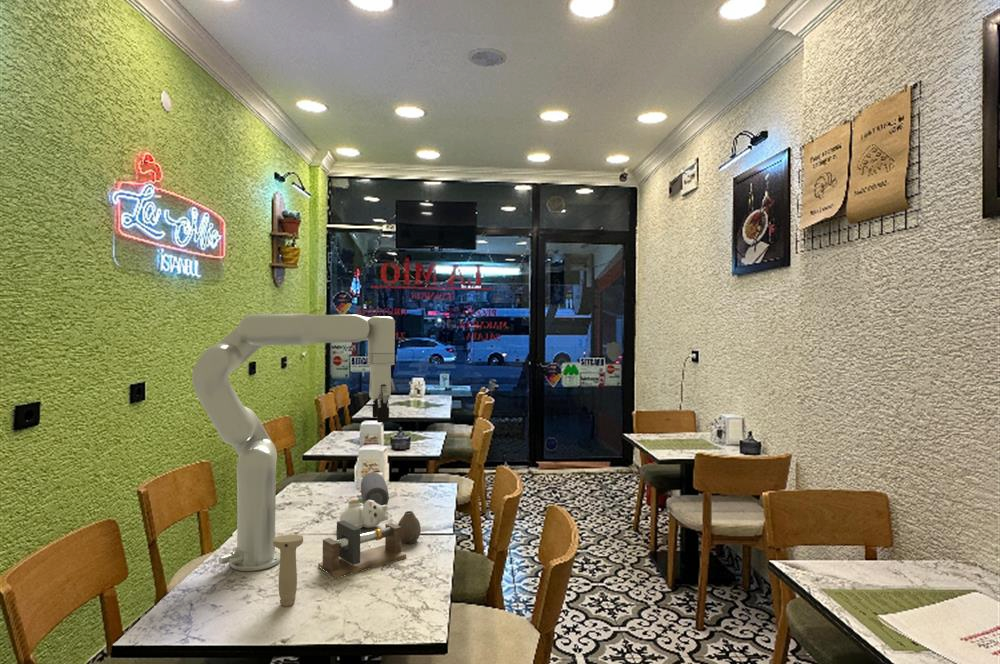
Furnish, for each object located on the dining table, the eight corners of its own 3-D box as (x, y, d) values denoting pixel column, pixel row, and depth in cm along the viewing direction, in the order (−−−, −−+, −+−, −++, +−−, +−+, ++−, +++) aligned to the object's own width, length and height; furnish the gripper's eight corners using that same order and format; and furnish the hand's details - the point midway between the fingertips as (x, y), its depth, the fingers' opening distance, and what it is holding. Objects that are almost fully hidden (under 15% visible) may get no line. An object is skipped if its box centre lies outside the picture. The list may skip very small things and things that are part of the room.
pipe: (335, 553, 156) (335, 541, 156) (329, 550, 158) (329, 539, 158) (394, 537, 168) (394, 527, 168) (388, 534, 170) (389, 524, 170)
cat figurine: (337, 499, 190) (385, 492, 192) (341, 506, 197) (387, 499, 199) (338, 530, 185) (387, 523, 187) (342, 536, 192) (390, 529, 194)
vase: (415, 546, 176) (416, 516, 175) (393, 544, 177) (393, 514, 177) (423, 538, 182) (423, 509, 182) (401, 536, 184) (402, 508, 184)
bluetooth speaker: (359, 498, 225) (359, 471, 225) (384, 496, 228) (385, 469, 228) (362, 516, 203) (362, 486, 203) (390, 514, 206) (390, 485, 206)
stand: (336, 578, 152) (336, 547, 152) (318, 566, 160) (318, 536, 160) (406, 557, 167) (406, 529, 167) (386, 548, 174) (386, 520, 174)
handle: (275, 600, 140) (275, 535, 140) (304, 598, 141) (304, 534, 141) (270, 609, 135) (271, 542, 135) (300, 608, 136) (301, 541, 136)
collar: (353, 564, 156) (353, 530, 156) (336, 555, 163) (336, 521, 163) (360, 562, 158) (360, 528, 158) (343, 553, 164) (343, 520, 164)
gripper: (364, 358, 179) (363, 416, 179) (371, 361, 163) (371, 424, 163) (389, 358, 182) (389, 415, 182) (399, 361, 165) (399, 423, 165)
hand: (380, 419), depth 172 cm, fingers open, 9 cm apart
